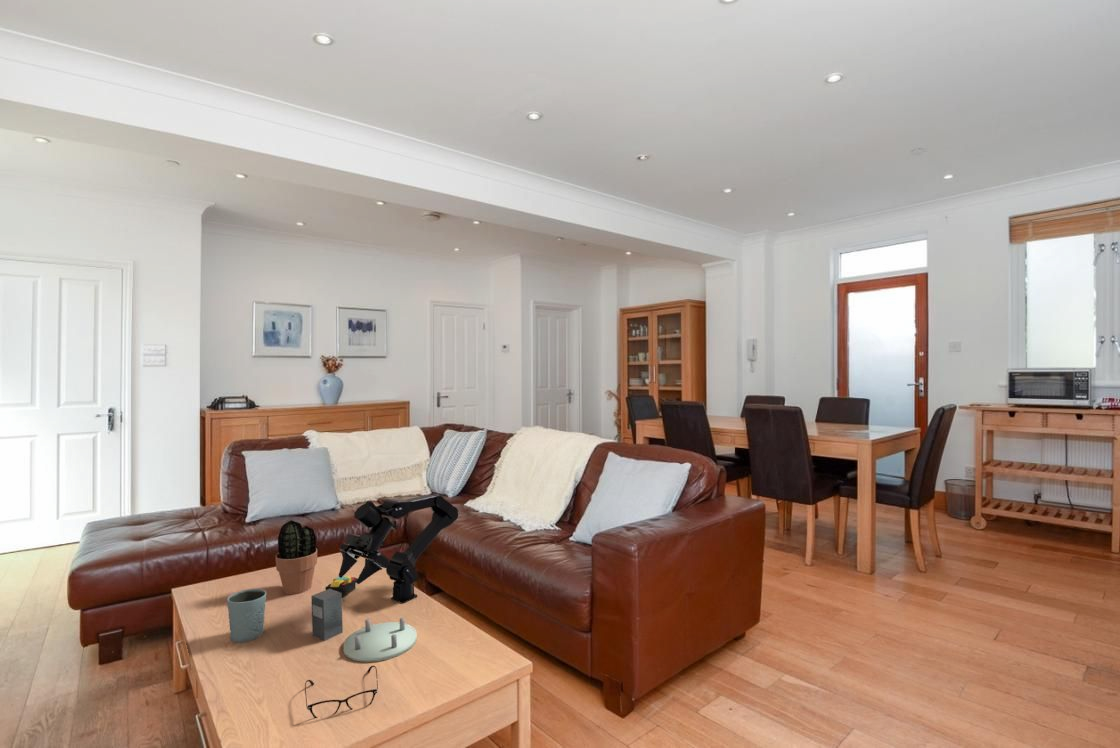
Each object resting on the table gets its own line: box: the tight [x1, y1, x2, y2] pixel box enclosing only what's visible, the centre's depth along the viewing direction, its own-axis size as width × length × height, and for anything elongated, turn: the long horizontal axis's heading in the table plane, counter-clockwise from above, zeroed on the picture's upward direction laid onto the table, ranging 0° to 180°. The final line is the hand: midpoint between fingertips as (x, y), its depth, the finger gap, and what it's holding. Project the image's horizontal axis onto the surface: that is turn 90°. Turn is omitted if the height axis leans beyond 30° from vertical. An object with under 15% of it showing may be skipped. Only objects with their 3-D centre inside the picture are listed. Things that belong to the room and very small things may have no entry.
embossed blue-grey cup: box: [226, 588, 267, 643], centre depth 164 cm, size 10×10×12 cm
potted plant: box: [275, 519, 318, 595], centre depth 197 cm, size 14×14×25 cm
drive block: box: [310, 589, 344, 642], centre depth 164 cm, size 6×6×12 cm
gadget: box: [325, 575, 358, 597], centre depth 194 cm, size 6×13×6 cm, turn 174°
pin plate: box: [343, 617, 418, 663], centre depth 159 cm, size 20×20×4 cm
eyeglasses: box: [304, 665, 379, 719], centre depth 134 cm, size 16×16×4 cm
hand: (348, 580), depth 171 cm, fingers open, 9 cm apart
